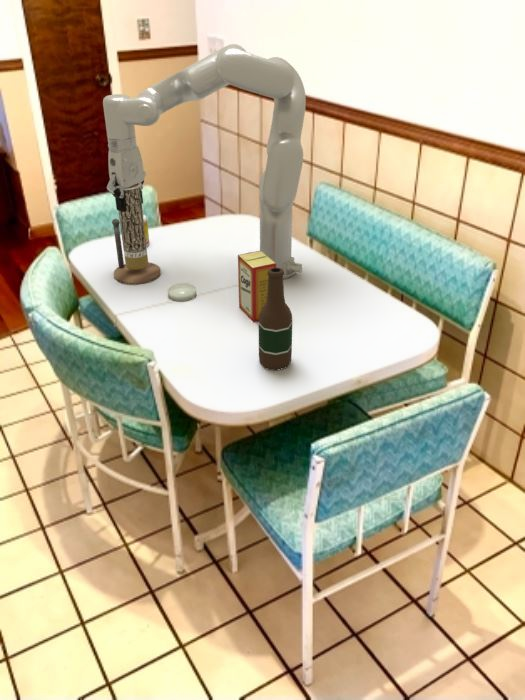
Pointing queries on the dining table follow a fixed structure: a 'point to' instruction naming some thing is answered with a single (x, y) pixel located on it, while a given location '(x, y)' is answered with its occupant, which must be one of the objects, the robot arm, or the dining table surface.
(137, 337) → the dining table surface
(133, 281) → the holder base
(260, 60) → the robot arm
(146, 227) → the supplement bottle
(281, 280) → the beer bottle
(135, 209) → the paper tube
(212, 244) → the dining table surface
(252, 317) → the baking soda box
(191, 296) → the sage dish
